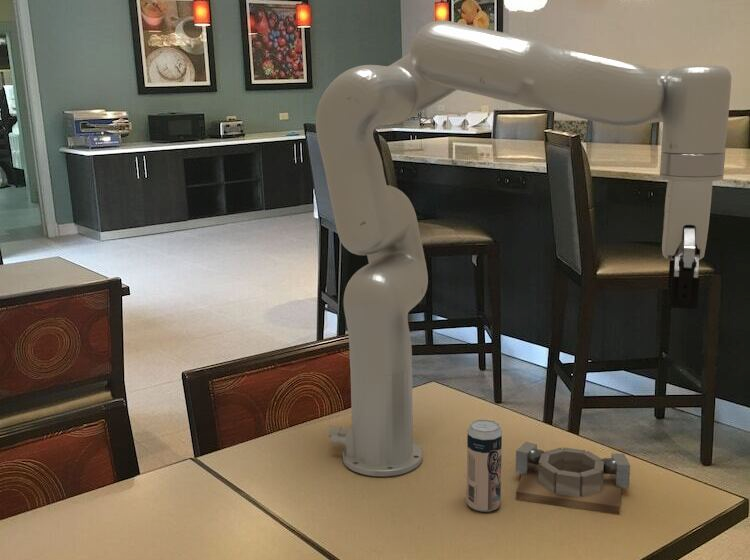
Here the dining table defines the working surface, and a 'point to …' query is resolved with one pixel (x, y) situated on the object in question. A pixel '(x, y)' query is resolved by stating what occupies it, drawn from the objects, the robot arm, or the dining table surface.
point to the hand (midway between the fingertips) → (681, 298)
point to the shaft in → (527, 458)
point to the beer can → (484, 465)
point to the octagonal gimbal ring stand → (570, 482)
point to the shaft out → (618, 470)
